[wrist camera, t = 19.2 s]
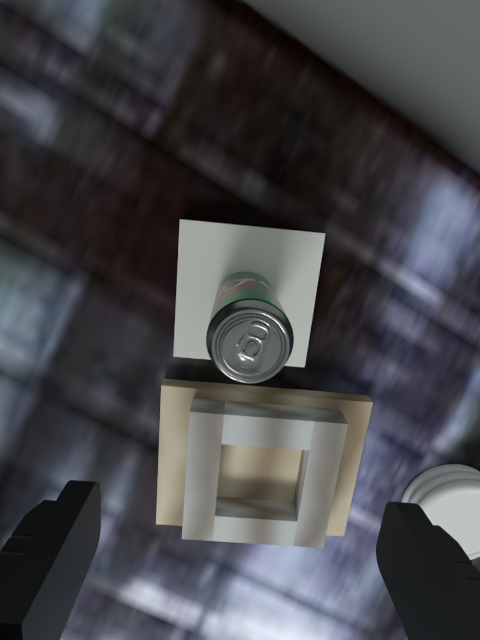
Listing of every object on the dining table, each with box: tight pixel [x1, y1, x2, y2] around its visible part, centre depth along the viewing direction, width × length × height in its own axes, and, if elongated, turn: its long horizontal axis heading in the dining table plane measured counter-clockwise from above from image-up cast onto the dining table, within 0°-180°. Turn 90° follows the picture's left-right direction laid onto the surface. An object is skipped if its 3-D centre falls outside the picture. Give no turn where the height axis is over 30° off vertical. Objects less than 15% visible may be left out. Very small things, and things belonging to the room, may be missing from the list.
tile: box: [173, 219, 325, 367], centre depth 32 cm, size 12×12×2 cm
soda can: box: [206, 272, 294, 383], centre depth 25 cm, size 5×5×12 cm
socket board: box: [156, 379, 373, 548], centre depth 35 cm, size 20×16×4 cm
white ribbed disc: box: [401, 464, 480, 560], centre depth 38 cm, size 10×10×4 cm
